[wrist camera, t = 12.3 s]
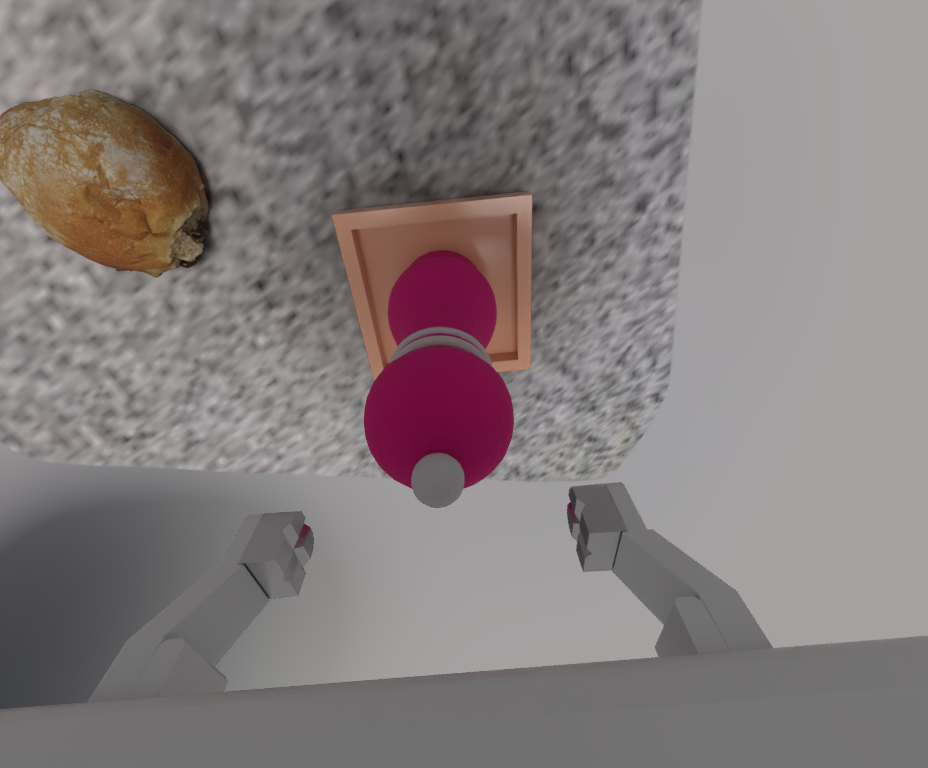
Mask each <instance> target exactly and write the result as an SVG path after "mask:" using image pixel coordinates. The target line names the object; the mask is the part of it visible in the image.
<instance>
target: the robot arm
mask: <svg viewBox="0 0 928 768" xmlns="http://www.w3.org/2000/svg"><path fill="white" fill-rule="evenodd" d="M569 498H570V501H571V502H570V503H569V504H568V505H567V517H568V524H569V529H570V532H571V535H572V537H573V538H574V539H575V540H576V541H577V549H576V551H577V554H578V557H579V561H580V564H581V567H582V570H583V572H590V571H608V570H613V573H614V574H615V575H616V576H617V577H618V578H619V579H620V580H621V581H622V582H623V583H624V584H625V585H626V586H627V587H628V588H629V589H630V590H631V591H632V592H633V593H634V594H635V595H636V596H637V597H638V599H639V600H640V601H641V602H642V603H643V604H644V605H645V606H646V607H647V608H648V609H649V610H650V611H651V612H652V613H653V614H654V615H655V616H656V617H657V618H658V619H659V620H660V621H661V622H662V623H663V625H664V627H663V630H662V632H661V634H660V637H659V638H658V641H657V643H656V645H655V649H656V652H657V654H658V657H655V658H642V659H630V660H618V661H606V662H592V663H581V664H580V663H579V664H568V665H554V666H542V667H529V668H516V669H504V670H491V671H480V672H466V673H453V674H441V675H428V676H416V677H404V678H391V679H378V680H365V681H353V682H341V683H328V684H316V685H303V686H290V687H278V688H265V689H253V690H241V691H228V692H224V690H225V687H226V684H227V679H226V676H225V675H223V674H222V673H221V672H220V671H219V670H218V669H217V668H216V667H215V666H216V664H217V663H218V662H219V661H220V659H221V658H222V657H223V656H224V655H225V653H226V652H227V651H228V650H229V649H230V648H231V646H232V645H233V644H234V643H235V642H236V640H237V639H238V638H239V637H240V636H241V634H242V633H243V632H244V631H245V630H246V628H247V627H248V626H249V625H250V624H251V622H252V621H253V620H254V619H255V618H256V616H257V615H258V614H259V613H260V612H261V610H262V609H263V608H264V607H265V606H266V604H267V603H268V602H269V599H272V598H273V599H274V598H283V597H291V596H298V595H299V592H300V589H301V585H302V583H303V580H304V577H305V574H306V573H305V571H304V568H303V566H304V565H305V564H306V563H307V562H308V561H309V560H310V558H311V555H312V552H313V545H314V537H313V532H312V530H311V528H310V527H309V526H307V525H305V524H304V521H305V516H304V515H303V513H302V511H296V512H279V513H264V514H252V515H249V516H248V517H247V518H245V519H244V521H243V523H242V525H241V527H240V529H239V530H238V532H237V534H236V536H235V538H234V540H233V542H232V544H231V545H230V547H229V549H228V551H227V553H226V555H225V557H224V559H223V561H222V562H221V564H220V566H217V567H213V568H212V569H211V570H210V571H209V572H207V573H206V574H205V575H204V576H203V577H202V578H201V579H199V580H198V581H197V582H196V583H195V584H193V585H192V586H191V587H190V588H189V589H187V590H186V591H185V592H184V593H183V594H182V595H180V596H179V597H178V598H177V599H176V600H175V601H173V602H172V603H171V604H170V605H169V606H168V607H166V608H165V609H164V610H163V611H162V612H160V613H159V614H158V615H157V616H156V617H154V618H153V619H152V620H151V621H150V622H148V623H147V624H146V625H145V626H144V627H143V628H141V629H140V630H139V631H138V632H137V633H135V634H134V635H133V636H132V637H131V638H130V639H128V640H127V641H126V643H125V645H124V646H123V647H122V649H121V651H120V652H119V654H118V655H117V657H116V658H115V660H114V662H113V663H112V665H111V666H110V668H109V669H108V671H107V672H106V674H105V676H104V677H103V679H102V680H101V682H100V683H99V685H98V686H97V688H96V690H95V691H94V693H93V694H92V696H91V697H90V699H89V701H88V702H87V703H79V704H78V703H77V704H66V705H53V706H40V707H28V708H15V709H3V710H0V768H928V636H917V637H907V638H895V639H882V640H870V641H858V642H844V643H833V644H819V645H806V646H794V647H781V648H773V647H772V645H771V644H770V642H769V641H768V639H767V638H766V636H765V634H764V633H763V631H762V630H761V628H760V627H759V625H758V624H757V622H756V620H755V619H754V617H753V616H752V614H751V613H750V611H749V609H748V608H747V606H746V605H745V603H744V602H743V600H742V598H741V597H740V595H739V594H738V592H737V591H736V590H734V589H733V588H732V587H730V586H729V585H728V584H726V583H725V582H724V581H722V580H721V579H719V578H718V577H717V576H715V575H714V574H713V573H711V572H710V571H708V570H707V569H706V568H704V567H703V566H702V565H700V564H699V563H698V562H696V561H695V560H693V559H692V558H691V557H689V556H688V555H687V554H685V553H684V552H682V551H681V550H680V549H679V548H677V547H676V546H675V545H673V544H672V543H670V542H669V541H668V540H666V539H665V538H663V537H662V536H661V535H660V534H658V533H657V532H655V531H654V530H647V528H646V526H645V524H644V522H643V520H642V518H641V516H640V515H639V513H638V511H637V509H636V507H635V505H634V503H633V501H632V499H631V497H630V495H629V493H628V491H627V490H626V488H625V486H624V484H622V483H621V482H619V483H608V484H594V485H584V486H574V487H570V489H569Z"/></svg>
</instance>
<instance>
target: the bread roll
mask: <svg viewBox="0 0 928 768" xmlns="http://www.w3.org/2000/svg"><path fill="white" fill-rule="evenodd" d="M80 95H81V96H78V97H77V96H72V95H67V96H64V97H55V96H54V97H53V98H50V99H44V100H41V101H37V102H27V103H23V104H21V105H18V106H15V107H13V108H10V109H9V110H7V111H6V112H4V113H3V114H1V116H0V179H1V181H2V183H3V184H4V185H5V186H6V187H7V188H8V189H9V190H10V191H11V193H12V194H13V195H14V196H15V197H16V198H17V199H18V201H19V202H20V204H21V205H22V206H23V208H24V209H25V210H26V211H27V213H28V214H29V215H30V217H31V218H32V219H33V220H34V221H35V222H36V223H37V224H38V226H39V227H40V228H41V229H42V230H43V231H44V232H45V233H46V234H47V235H49V236H50V237H51V238H52V239H54V240H55V241H57V242H59V243H61V244H62V245H64V246H65V247H67V248H69V249H71V250H73V251H75V252H77V253H78V254H80V255H82V256H84V257H86V258H87V259H90V260H92V261H95V262H97V263H99V264H102V265H104V266H108V267H112V268H115V269H116V270H117V271H123V270H129V271H133V270H135V271H140V272H145V273H147V274H149V275H151V276H154V277H159V276H160V275H161V274H162V273H163V272H165V271H167V270H171V269H175V268H177V267H179V266H182V267H186V268H189V267H192V266H194V265H196V264H197V262H198V261H199V260H200V254H201V253H202V252H203V250H202V249H203V247H204V244H203V243H202V241H203V240H204V237H205V236H206V235H207V234H208V228H207V223H206V218H207V214H208V208H209V206H208V202H207V198H206V195H205V192H204V188H205V185H204V184H203V183H202V179H201V177H200V174H199V171H198V169H197V166H196V164H195V162H194V160H193V158H192V156H191V154H190V153H188V152H187V151H186V150H185V149H184V147H183V146H182V145H181V144H180V143H179V142H178V140H177V139H176V137H174V136H172V135H171V134H170V133H169V132H168V131H166V130H165V129H164V128H163V127H162V126H161V125H160V124H159V123H158V122H157V121H155V120H154V119H153V118H152V117H151V116H149V115H148V114H147V113H145V112H144V111H142V110H141V109H140V108H138V107H136V106H133V105H130V104H127V103H125V102H123V101H121V100H119V99H117V98H115V97H113V96H111V95H109V94H106V93H101V92H98V91H95V90H86V91H83V92H80ZM165 235H166V236H165Z"/></svg>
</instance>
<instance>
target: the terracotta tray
mask: <svg viewBox="0 0 928 768" xmlns="http://www.w3.org/2000/svg"><path fill="white" fill-rule="evenodd" d="M332 218H333V222H334V226H335V230H336V234H337V238H338V242H339V245H340V249H341V253H342V257H343V261H344V265H345V269H346V273H347V277H348V281H349V285H350V288H351V292H352V296H353V300H354V304H355V308H356V312H357V316H358V320H359V324H360V328H361V331H362V335H363V339H364V343H365V347H366V351H367V355H368V359H369V363H370V367H371V371H372V374H373V378H374V381H375V379H376V378H377V377H378V376H379V374H380V373H381V372H382V370H383V369H384V368H385V367H386V366H387V365H388V364H390V360H391V357H392V355H393V353H394V351H395V350H396V348H397V347H398V346H397V344H396V342H395V340H394V338H393V336H392V333H391V330H390V327H389V322H388V303H389V297H390V293H391V290H392V288H393V286H394V284H395V282H396V280H397V279H398V278H399V277H400V275H401V274H402V273H403V272H404V271H405V270H406V269H407V268H409V267H410V265H411V264H412V263H413V262H414V261H415V260H416V259H418V258H419V257H420V256H422V255H424V254H426V253H429V252H432V251H438V250H447V251H453V252H456V253H458V254H461V255H463V256H464V257H466V258H467V259H469V260H470V261H471V262H472V263H473V264H474V265H475V266H476V268H477V269H478V270H479V271H480V272H481V274H482V275H483V276H484V277H485V278H486V279H487V281H488V282H489V284H490V286H491V287H492V290H493V293H494V295H495V300H496V307H497V319H496V326H495V330H494V333H493V335H492V338H491V340H490V343H489V344H488V346H487V348H486V349H485V350H486V352H487V353H488V355H489V357H490V360H491V363H492V367H493V368H494V369H495V370H496V372H506V371H516V370H527V369H530V361H531V271H532V194H530V193H528V192H526V191H525V192H515V193H505V194H495V195H485V196H475V197H466V198H456V199H446V200H436V201H426V202H416V203H406V204H396V205H386V206H376V207H366V208H356V209H346V210H339V211H338V212H336V213H334V214H332Z"/></svg>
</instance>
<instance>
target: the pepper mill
mask: <svg viewBox="0 0 928 768" xmlns="http://www.w3.org/2000/svg"><path fill="white" fill-rule="evenodd" d="M496 319H497V307H496V300H495V295H494V293H493V290H492V287H491V286H490V284H489V282H488V281H487V279H486V278H485V277H484V276H483V275H482V274H481V272H480V271H479V270H478V269H477V268H476V266H475V265H474V264H473V263H472V262H471V261H470V260H469V259H467V258H466V257H464V256H463V255H461V254H458V253H456V252H453V251H447V250H438V251H432V252H429V253H426V254H424V255H422V256H420V257H419V258H418V259H416V260H415V261H414V262H413V263H412V264H411V265H410V267H409V268H407V269H406V270H405V271H404V272H403V273H402V274H401V275H400V277H399V278H398V279H397V280H396V282H395V284H394V286H393V288H392V290H391V293H390V297H389V303H388V322H389V327H390V330H391V333H392V336H393V338H394V340H395V342H396V344H397V346H398V347H397V348H396V350H395V351H394V353H393V355H392V357H391V360H390V364H388V365H387V366H386V367H385V368H384V369H383V370H382V372H381V373H380V374H379V376H378V377H377V378H376V379H375V381H374V383H373V385H372V387H371V389H370V392H369V394H368V397H367V400H366V405H365V413H364V428H365V436H366V440H367V443H368V446H369V449H370V451H371V454H372V455H373V457H374V458H375V460H376V461H377V463H378V465H379V466H380V467H381V468H382V469H383V470H384V471H385V472H386V473H387V474H388V475H389V476H391V477H392V478H393V479H394V480H396V481H398V482H400V483H402V484H404V485H406V486H408V487H410V488H412V489H413V491H414V494H415V495H416V497H417V498H418V500H420V501H421V502H422V503H423V504H425V505H428V506H430V507H434V508H441V507H446V506H448V505H450V504H451V503H453V502H454V501H455V500H456V499H458V498H459V496H460V495H461V492H462V490H463V489H464V488H467V487H469V486H472V485H474V484H476V483H477V482H479V481H481V480H482V479H484V478H485V477H486V476H488V475H489V474H490V473H491V472H492V471H493V470H494V469H495V468H496V467H497V466H498V464H499V463H500V462H501V461H502V460H503V458H504V456H505V454H506V452H507V449H508V446H509V444H510V441H511V438H512V433H513V426H514V417H513V406H512V401H511V397H510V394H509V392H508V389H507V387H506V385H505V383H504V381H503V379H502V378H501V377H500V375H499V374H498V373H497V372H496V370H495V369H494V368H493V367H492V363H491V360H490V357H489V355H488V353H487V352H486V350H485V349H486V348H487V346H488V344H489V343H490V340H491V338H492V335H493V333H494V330H495V326H496Z"/></svg>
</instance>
